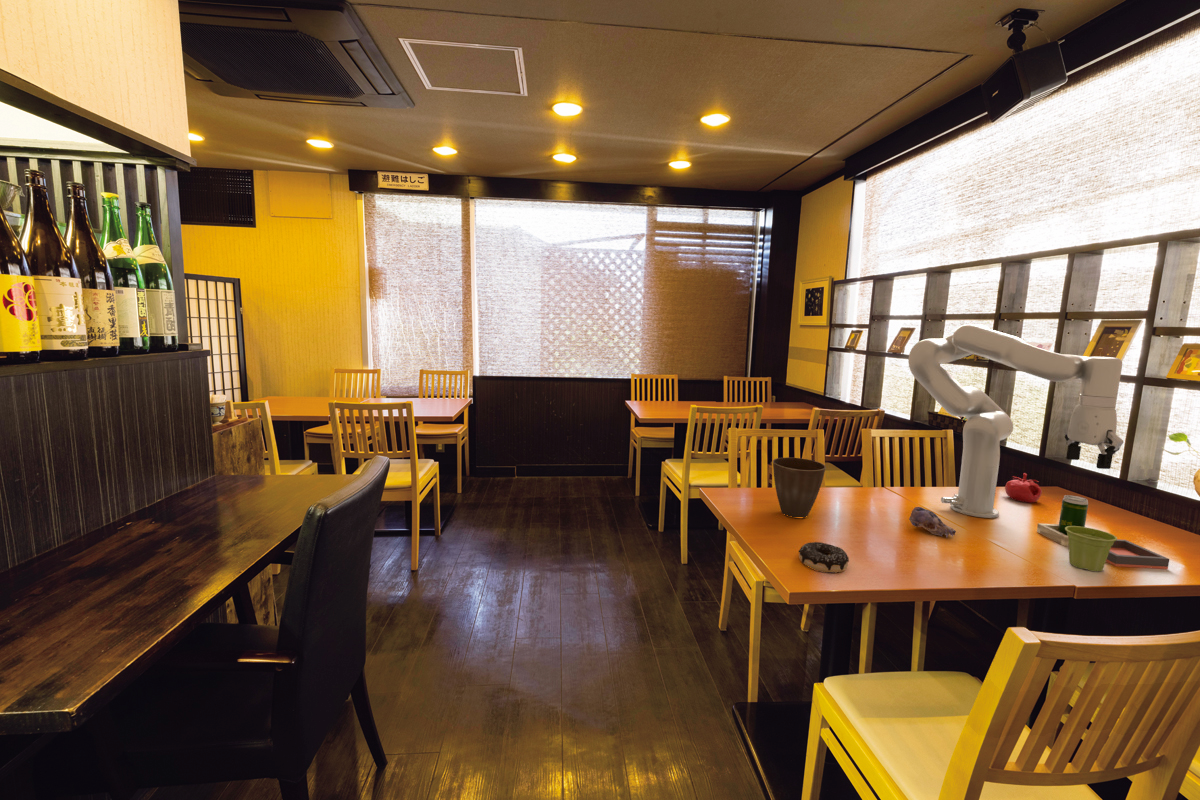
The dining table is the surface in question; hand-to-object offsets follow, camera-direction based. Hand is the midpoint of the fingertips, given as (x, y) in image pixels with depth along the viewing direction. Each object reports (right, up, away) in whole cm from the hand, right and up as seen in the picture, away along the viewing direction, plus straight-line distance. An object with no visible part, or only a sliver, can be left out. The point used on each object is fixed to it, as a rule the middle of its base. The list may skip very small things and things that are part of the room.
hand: (1087, 463), depth 147 cm
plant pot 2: (-15, -23, -16) cm, 32 cm away
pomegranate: (+11, -17, +37) cm, 42 cm away
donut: (-81, -22, -19) cm, 86 cm away
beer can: (-4, -21, +1) cm, 22 cm away
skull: (-41, -20, +4) cm, 46 cm away
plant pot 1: (-75, -18, +15) cm, 79 cm away
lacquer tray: (-1, -23, -10) cm, 25 cm away
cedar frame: (-4, -21, +1) cm, 22 cm away
